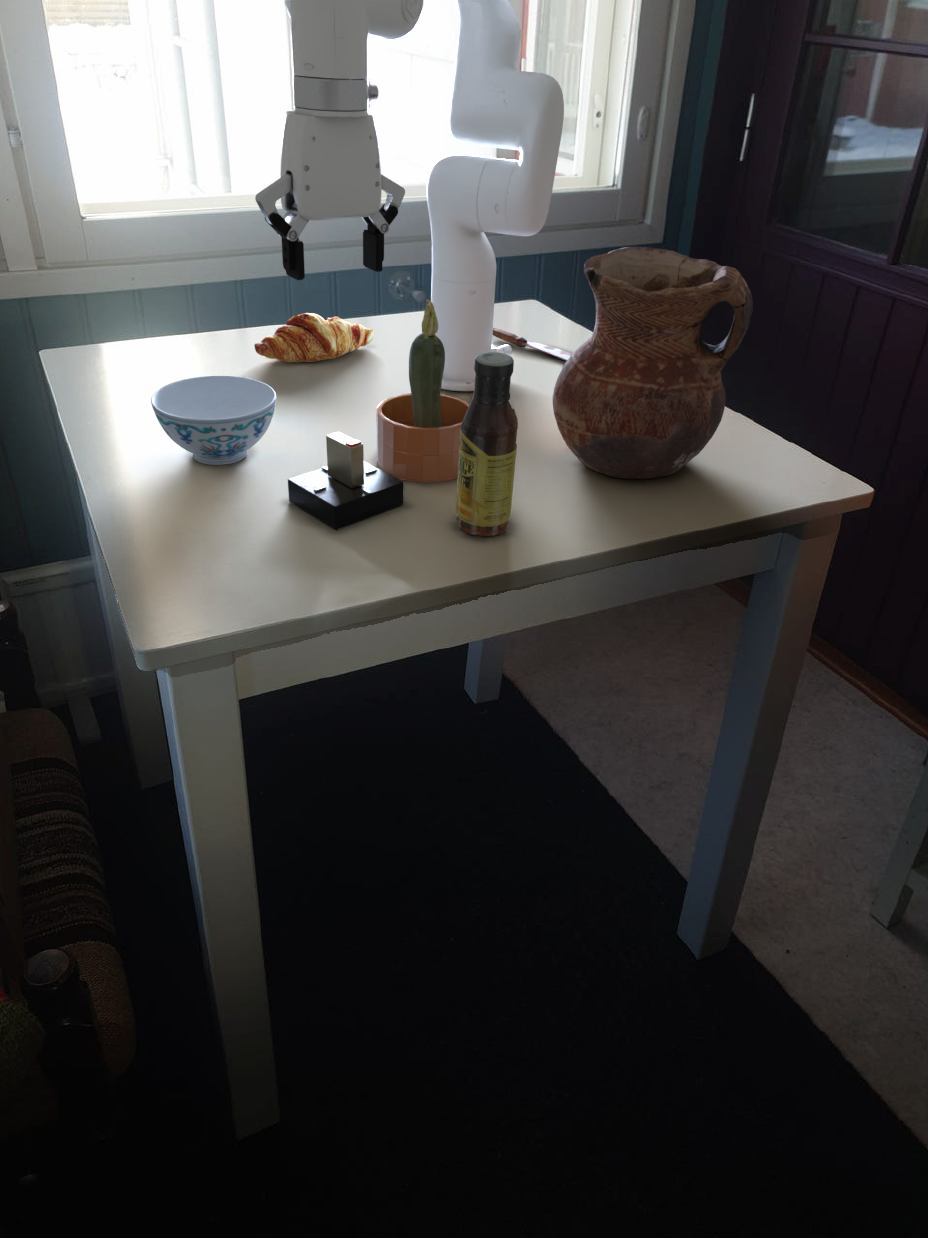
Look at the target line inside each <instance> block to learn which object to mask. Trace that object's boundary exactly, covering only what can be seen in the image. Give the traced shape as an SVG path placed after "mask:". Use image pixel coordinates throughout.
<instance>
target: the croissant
mask: <svg viewBox="0 0 928 1238" xmlns="http://www.w3.org/2000/svg"><path fill="white" fill-rule="evenodd" d="M374 338H375V331H374V329H372V328H367V327H365V326H364V325H362V324H360V323H358V322H355V323H351V322H349V321H345V320H344V319H342V318H340V317H339V316H332V317H327V319H326V320H325V319H324V317H322V316H321V315H319V314H318V313H313V312H311V313H310V312H305V313H299V314H295V315H293V316H291V317H290V318H289V319H287V320H286V323H285V325H282V326H280V327H278V328H277V329H275V332H274V333H273V335H266V336H265V337H264V338H263V339H262V340H261V341H260V342H256V343H254V350H255V352H256V354H258V355H259V356H262V357H265V358H266V359H271V360H278V361H281V362H285V363H286V362H287V363H290V364H291V363H292V364H293V363H296V362H298V363H301V362H303V363H304V362H305V363H312V362H313V363H314V362H319V361H324V360H332V359H336V358H339V357H342V356H343V355H345V354H347V353H351V352H353V351H356V350H357V349H359V348H360V347H365V346H368V345H369V344H370V343H372V342H373V340H374Z"/></svg>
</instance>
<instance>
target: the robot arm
mask: <svg viewBox="0 0 928 1238" xmlns="http://www.w3.org/2000/svg"><path fill="white" fill-rule="evenodd" d="M283 1H284V5H285V9H286V11H287V14H288V16H289V18H290V47H291V69H292V70H291V71H292V93H293V95H292V96H293V98H292V99H293V110H287V111H286V112H285V116H284V123H283V129H282V138H281V150H280V177H279V178H277V180H275V181H274V182H271V184H269V185H268V186H266V187H265V188H263V189H262V190H260V191H259V192H258V193H256V195H255V198H254V200H255V202H256V204H257V206H258V208H259V210H260V211H261V214H262V215H263V217H264V221H265V222H266V223H267V224H268V225H269V226H270V228H272V229H273V230H274V231H275V233H276V234H277V235H278V236H279V237H281V256H282V258H281V259H282V267H283V269H284V270H285V273H286V275H287V276H288V277H290V278H292V279H294V280H296V281H303V280H304V279H305V278H306V277H305V276H306V275H305V274H306V273H305V246H304V242H303V240H301V239H300V238H299V237H300V236H301V234H302V232H303V231H304V229H305V228H306V226H307V225H308V223H309V221H330V220H331V221H332V220H344V219H357V218H358V219H359V218H361V220H362V221H363V222H364V223H365V225H366V227H367V228H364V229H363V232H362V264H363V267H365V268H366V269H369V270H370V271H371V270H372V271H374V272H376V273H379V272H380V273H381V272H383V262H384V261H385V235H386V234H388V232H389V230H390V225H391V224H392V223H393V221H394V220H395V219H396V218H397V216H398V214H399V208H400V207H401V204H402V202H403V199H404V197H405V195H406V189H405V187H403V186H402V185H400V184H398V183H396V182H395V181H393V180H391V179H390V178H388V177H387V176H385V175H384V174H382V167H381V155H380V144H379V137H378V131H377V126H376V121H375V116H374V114H373V113H370V112H369V108H370V107H371V105H370V104H371V103H370V102H371V101H372V100H377V99H378V98H379V88H378V85H376V84H371V83H370V78H369V40H372V41H373V40H374V41H396V40H400V39H402V38H404V37H406V36H408V35H409V34H410V33H411V32H413V30H415V28H416V27H417V25H418V23H419V21H420V19H421V17H422V14H423V9H424V0H283ZM453 4H454V8H455V12H456V17H457V37H456V38H457V39H456V46H455V47H456V49H455V54H454V55H455V57H454V63H453V68H452V69H453V70H452V77H451V84H450V91H449V92H450V93H449V100H448V111H447V112H448V114H447V123H448V130H449V132H450V134H451V136H452V137H453V138H454V139H455V140H456V141H458V142H460V143H462V144H465V145H470V146H477V147H483V148H491V149H492V148H493V149H502V150H512V151H518V152H519V153H520V154H519V159H518V160H517V159H506V158H497V157H493V156H485V155H475V154H474V155H473V154H464V153H463V154H462V153H461V154H458V153H457V154H450V155H449V154H448V155H446V156H443V157H441V158H439V159H438V160H436V161H435V163H433V165H432V166H431V168H430V169H429V172H428V175H427V178H426V185H425V187H426V189H425V192H426V194H425V195H426V202H427V203H426V205H427V210H428V218H429V224H430V234H431V277H430V278H431V281H430V285H431V286H430V289H431V290H430V301H431V302H432V303H433V306H434V310H435V312H436V317H437V320H438V326H439V327H438V331H437V333H435V335H436V336H437V337H438V338H439V339H440V340H441V342H442V343H443V346H444V350H445V366H444V372H443V378H442V385H441V390H444V391H445V390H447V391H453V392H474V389H475V371H474V362H475V357H476V356H477V355H479V354H481V353H484V352H485V353H486V352H499V353H503V354H507V355H509V356H511V357H512V354H513V348H512V346H511V345H510V344H503V345H500V346H498V347H496V346H494V344H493V335H492V334H493V328H494V316H495V314H494V313H495V300H496V299H495V298H496V281H497V279H496V278H497V261H496V260H497V259H496V255H495V252H494V248H493V247H492V245H491V243H490V241H489V239H488V236H487V235H486V234H485V233H491V234H492V233H493V234H501V235H508V236H515V237H531V236H535V235H537V234H538V233H539V232H540V231H542V229H543V227H544V226H545V224H546V221H547V218H548V215H549V211H550V207H551V200H552V197H553V196H552V194H553V189H554V184H555V183H554V182H555V177H556V171H557V165H558V159H559V153H560V146H561V142H562V141H561V139H562V135H563V134H562V133H563V127H564V119H565V100H564V93H563V89H562V87H561V85H560V83H559V82H558V81H557V80H556V79H555V78H554V77H553V76H551V75H549V74H546V73H543V72H536V71H524V70H518V62H519V52H520V46H521V42H522V41H521V39H522V30H521V25H520V22H519V20H518V17H517V15H516V13H515V10H514V8H513V6H512V5H511V2H510V1H509V0H453ZM382 191H383V192H384V193H386V199H385V203H383V204H382ZM279 200H280V203H281V207H282V209H283V211H284V212H285V214H284V216H282V215H281V214H280V213H279V212H278V208H277V207H276V203H277V201H279Z"/></svg>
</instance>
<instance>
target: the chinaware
mask: <svg viewBox="0 0 928 1238" xmlns="http://www.w3.org/2000/svg"><path fill="white" fill-rule="evenodd" d="M276 401H277V394H276V391H275V390H274V389H273V387H271V385H269V384H267V383H265V382H262V381H260V380H257V379H253V378H250V377H245V376H244V377H243V376H235V375H204V376H196V377H191V378H189V377H188V378H185V379H180V380H177V381H174V382H170V383H168V384H166V385H164V386H162V387H160V388H159V389H157V390H156V391H154V393H153V394H152V396H151V399H150V404H151V406H152V410H153V412H154V414H155V417H156V419H157V421H158V423H159V425H160V427H161V428H162V429H163V431H164V433H165V434H166V435H167V436H168V437H169V438H170V439H171V440H172V441H173V442H174V443H175V444H176V445H178V446H179V447H180V448H181V449H183V450H184V451H187V452H188V453H191V454H192V456H193V458H194V460H196V461H197V462H199V463H202V464H204V465H209V466H210V465H211V466H223V465H230V464H234V463H238V462H240V461H242V460H244V459H245V458H246V457H247V455H248V451H249V450H250V449H251V448H252V447H254V446H255V445H256V444H257V443H258V442H259V441H260V440H261V439H262V438H263V436H264V435H265V434H266V432H267V431H268V429H269V427H270V425H271V423H272V420H273V417H274V414H275V413H274V412H275V408H276Z"/></svg>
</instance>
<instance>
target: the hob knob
mask: <svg viewBox="0 0 928 1238" xmlns="http://www.w3.org/2000/svg"><path fill="white" fill-rule="evenodd" d="M325 438H326V466H327V467H328V476H330V477H332V478H334V479H336V480H337V481H339V482H341V483H343V484H345V485H346V486H348V487H350V488H355V487H358V486H361V485H364V462H365V460H364V459H365V458H364V457H365V456H364V444H363V443H362V441H361V440H358V439H354V438H352V437H350V436H348V435H346V434H344V433H342V432H340V431H336V432H333V433H330V434H327V435H326V436H325Z"/></svg>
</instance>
